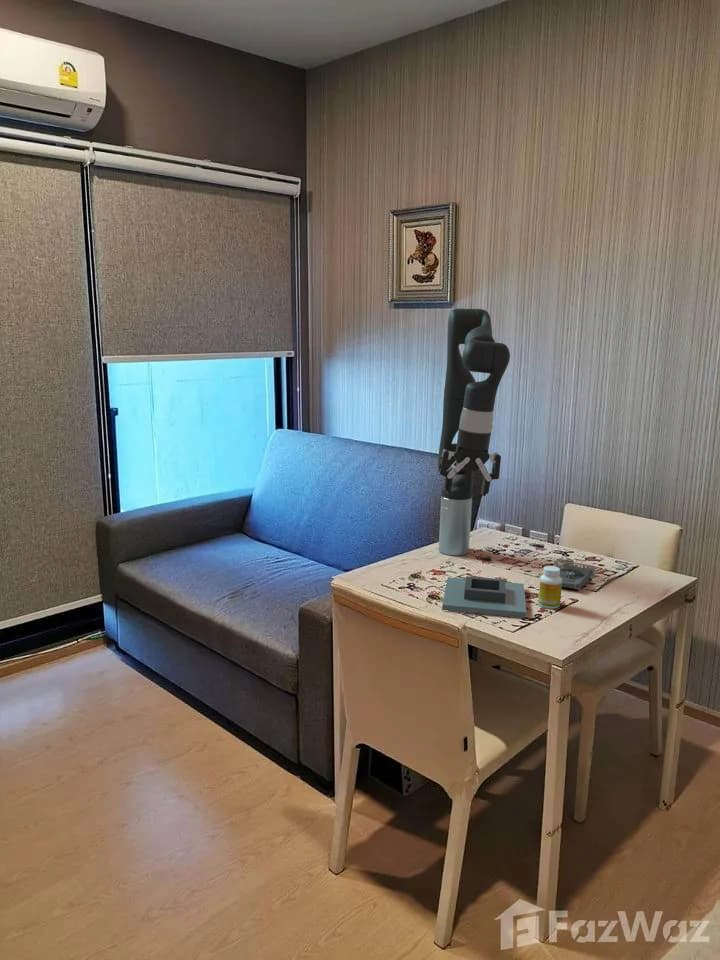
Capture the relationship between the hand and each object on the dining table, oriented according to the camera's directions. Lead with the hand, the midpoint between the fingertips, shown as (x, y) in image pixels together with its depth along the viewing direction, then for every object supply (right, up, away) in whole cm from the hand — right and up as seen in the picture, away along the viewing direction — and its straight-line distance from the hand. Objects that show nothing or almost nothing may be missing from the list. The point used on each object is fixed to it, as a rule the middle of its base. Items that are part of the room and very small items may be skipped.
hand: (465, 493), depth 178 cm
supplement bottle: (+22, -28, +9) cm, 37 cm away
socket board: (+6, -27, +11) cm, 30 cm away
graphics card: (+32, -25, +27) cm, 48 cm away
